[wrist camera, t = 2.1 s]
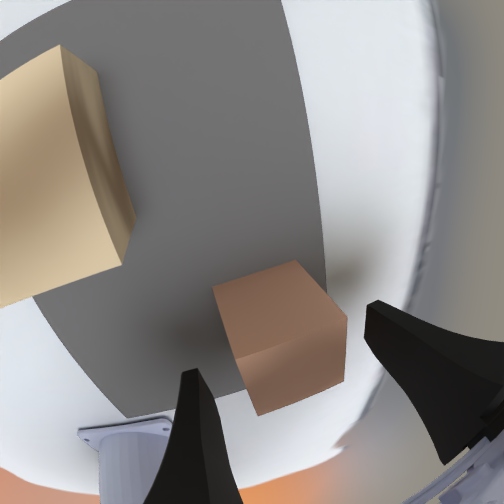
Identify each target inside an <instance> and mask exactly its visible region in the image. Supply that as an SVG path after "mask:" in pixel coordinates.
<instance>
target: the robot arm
mask: <svg viewBox="0 0 504 504" xmlns="http://www.w3.org/2000/svg"><path fill="white" fill-rule="evenodd" d="M364 339H365V341H366V343H367V344H368V346H369V347H370V349H371V351H372V352H373V354H374V355H375V357H376V358H377V359H378V360H379V362H380V363H381V364H382V365H383V366H384V368H385V369H386V370H387V371H388V372H389V374H390V375H391V376H392V377H393V378H394V379H395V381H396V382H397V383H398V384H399V386H401V388H402V389H403V390H404V392H405V393H406V394H407V396H408V397H409V399H410V400H411V402H412V404H413V405H414V407H415V408H416V410H417V412H418V414H419V416H420V417H421V419H422V421H423V423H424V424H425V427H426V428H427V431H428V433H429V435H430V437H431V439H432V441H433V443H434V446H435V448H436V451H437V453H438V456H439V459H440V460H441V462H442V463H443V464H444V465H446V464H447V463H449V462H450V461H451V460H452V459H453V458H455V457H456V456H457V455H458V454H459V453H460V452H461V451H463V450H464V449H465V448H466V447H467V446H468V448H469V449H470V451H469V452H468V453H467V454H465V455H464V456H463V457H462V458H461V459H460V460H459V461H457V462H456V463H455V464H454V465H453V466H452V467H450V468H449V469H448V470H447V471H446V472H444V473H443V474H442V475H440V476H439V477H438V478H436V479H435V480H434V481H432V482H431V483H430V484H428V485H427V486H426V487H424V488H423V489H421V490H420V491H419V492H417V493H416V494H414V495H413V496H411V497H410V498H408V499H406V500H405V501H403V502H402V503H400V504H425V503H426V502H427V501H429V500H430V499H432V498H433V497H434V496H436V495H437V494H438V493H440V492H441V491H442V490H444V489H445V488H446V487H447V486H449V485H450V484H451V483H452V482H454V481H455V480H456V479H457V478H458V477H459V476H461V475H462V474H463V473H464V472H465V471H466V470H467V474H466V475H465V476H464V477H462V478H461V479H459V480H458V481H457V482H455V483H454V484H453V485H451V486H450V487H449V488H448V489H447V490H446V491H445V492H443V493H442V494H441V495H440V496H439V500H440V501H441V502H440V503H438V504H504V342H496V341H488V340H483V339H478V338H473V337H468V336H464V335H461V334H458V333H454V332H451V331H448V330H445V329H442V328H440V327H437V326H435V325H432V324H430V323H427V322H425V321H423V320H421V319H418V318H416V317H414V316H412V315H410V314H408V313H405V312H403V311H401V310H399V309H397V308H395V307H393V306H391V305H389V304H387V303H384V302H382V301H380V300H377V301H374V302H372V303H370V304H368V305H367V309H366V321H365V332H364ZM77 436H78V437H79V438H80V439H82V440H83V441H84V442H85V443H87V444H88V445H89V446H91V447H92V448H93V449H95V450H96V451H98V452H99V491H100V504H243V501H242V499H241V496H240V494H239V491H238V488H237V486H236V483H235V480H234V477H233V474H232V471H231V468H230V464H229V460H228V455H227V450H226V445H225V440H224V435H223V430H222V425H221V420H220V416H219V413H218V409H217V406H216V403H215V400H214V396H213V394H212V393H211V391H210V389H209V387H208V386H207V384H206V382H205V380H204V378H203V377H202V375H201V373H200V371H199V369H198V368H195V369H191V370H187V371H184V372H182V374H181V380H180V388H179V394H178V400H177V406H176V410H175V415H174V420H173V425H172V424H171V422H170V421H169V420H167V419H163V418H161V419H155V420H150V421H145V422H139V423H133V424H127V425H121V426H113V427H106V428H97V429H88V430H79V431H77Z"/></svg>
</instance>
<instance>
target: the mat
mask: <svg viewBox="0 0 504 504" xmlns="http://www.w3.org/2000/svg"><path fill="white" fill-rule="evenodd" d="M58 45H61V46H63V47H64V48H66V49H67V50H68V51H70V52H71V53H72V54H74V55H75V56H77V57H78V58H79V59H81V60H82V61H83V62H85V63H86V64H87V65H89V66H90V67H91V68H93V69H94V70H95V71H97V74H98V80H99V85H100V89H101V94H102V99H103V103H104V108H105V112H106V116H107V120H108V124H109V128H110V132H111V136H112V140H113V144H114V147H115V151H116V154H117V158H118V161H119V165H120V168H121V171H122V175H123V178H124V181H125V184H126V187H127V191H128V194H129V197H130V200H131V203H132V206H133V209H134V212H135V214H136V217H137V218H136V221H135V224H134V227H133V230H132V233H131V236H130V240H129V243H128V246H127V249H126V253H125V256H124V260H123V263H122V265H120V266H117V267H114V268H111V269H108V270H105V271H102V272H99V273H96V274H93V275H91V276H88V277H85V278H82V279H79V280H76V281H73V282H71V283H68V284H65V285H62V286H59V287H57V288H54V289H51V290H48V291H45V292H43V293H40V294H37V295H34V296H32V297H33V299H34V300H35V302H36V304H37V305H38V307H39V309H40V310H41V312H42V314H43V315H44V317H45V318H46V320H47V321H48V323H49V324H50V326H51V327H52V329H53V330H54V332H55V333H56V335H57V336H58V338H59V339H60V341H61V342H62V343H63V345H64V346H65V347H66V349H67V350H68V351H69V353H70V354H71V355H72V357H73V358H74V359H75V361H76V362H77V363H78V364H79V366H80V367H81V368H82V369H83V371H84V372H85V373H86V374H87V376H88V377H89V378H90V379H91V380H92V381H93V383H94V384H95V385H96V386H97V387H98V388H99V389H100V391H101V392H102V393H103V394H104V395H105V396H106V397H107V398H108V399H109V400H110V402H111V403H112V404H113V405H114V406H115V407H116V408H117V409H118V410H119V411H120V412H121V413H122V414H123V415H124V416H125V417H126V418H132V417H138V416H143V415H148V414H153V413H158V412H163V411H167V410H172V409H176V406H177V400H178V394H179V388H180V380H181V374H182V372H184V371H187V370H191V369H195V368H198V369H199V371H200V373H201V375H202V377H203V378H204V380H205V382H206V384H207V386H208V387H209V389H210V391H211V393H212V394H213V396H214V399H215V398H218V397H222V396H225V395H228V394H231V393H235V392H238V391H241V390H244V389H246V386H245V384H244V381H243V379H242V376H241V374H240V371H239V369H238V366H237V363H236V361H235V358H234V355H233V352H232V349H231V346H230V343H229V340H228V337H227V334H226V331H225V328H224V325H223V321H222V318H221V315H220V312H219V309H218V305H217V302H216V299H215V296H214V292H213V289H212V287H213V286H216V285H220V284H223V283H226V282H229V281H232V280H235V279H238V278H241V277H244V276H248V275H251V274H254V273H257V272H260V271H263V270H266V269H269V268H272V267H275V266H278V265H281V264H284V263H287V262H290V261H293V260H296V261H297V262H298V263H299V264H300V265H301V266H302V267H303V268H304V269H305V270H306V272H307V273H308V274H309V275H310V276H311V277H312V278H313V279H314V280H315V281H316V283H317V284H318V285H319V286H320V287H321V288H322V289H323V290H324V291H325V292H326V294H327V289H326V273H325V259H324V246H323V234H322V224H321V214H320V205H319V196H318V188H317V180H316V172H315V165H314V157H313V151H312V144H311V138H310V131H309V125H308V119H307V114H306V108H305V103H304V97H303V92H302V87H301V82H300V77H299V72H298V68H297V63H296V58H295V54H294V50H293V45H292V41H291V37H290V33H289V29H288V25H287V21H286V17H285V13H284V10H283V6H282V3H281V0H71V1H69V2H67V3H65V4H63V5H60V6H58V7H56V8H54V9H52V10H51V11H49V12H47V13H45V14H43V15H41V16H39V17H38V18H36V19H34V20H32V21H31V22H29V23H27V24H26V25H24V26H22V27H21V28H19V29H17V30H16V31H14V32H13V33H11V34H10V35H8V36H7V37H5V38H4V39H2V40H1V41H0V80H1V79H2V78H4V77H5V76H7V75H8V74H10V73H11V72H13V71H14V70H16V69H17V68H19V67H20V66H22V65H24V64H25V63H27V62H29V61H30V60H32V59H34V58H35V57H37V56H39V55H41V54H43V53H44V52H46V51H48V50H50V49H52V48H54V47H56V46H58Z"/></svg>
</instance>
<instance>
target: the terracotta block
mask: <svg viewBox="0 0 504 504" xmlns="http://www.w3.org/2000/svg"><path fill="white" fill-rule="evenodd" d="M212 289H213V292H214V296H215V299H216V302H217V305H218V309H219V312H220V315H221V318H222V321H223V325H224V328H225V331H226V334H227V337H228V340H229V343H230V346H231V349H232V352H233V355H234V358H235V361H236V363H237V366H238V369H239V371H240V374H241V376H242V379H243V381H244V384H245V386H246V389H247V391H248V394H249V396H250V399H251V401H252V404H253V406H254V408H255V411H256V413H257V415H258V416H260V415H263V414H266V413H269V412H271V411H274V410H277V409H280V408H282V407H285V406H288V405H290V404H293V403H295V402H298V401H300V400H303V399H305V398H308V397H310V396H312V395H315V394H317V393H319V392H322V391H324V390H326V389H328V388H331V387H333V386H335V385H337V384H339V383H341V382H343V381H344V372H345V358H346V339H347V316H346V315H345V314H344V313H343V311H342V310H341V309H340V308H339V307H338V306H337V305H336V304H335V302H334V301H333V300H332V299H331V298H330V297H329V296H328V295H327V294H326V292H325V291H324V290H323V289H322V288H321V287H320V286H319V285H318V284H317V283H316V281H315V280H314V279H313V278H312V277H311V276H310V275H309V274H308V273H307V272H306V270H305V269H304V268H303V267H302V266H301V265H300V264H299V263H298V262H297V261H296V260H293V261H290V262H287V263H284V264H281V265H278V266H275V267H272V268H269V269H266V270H263V271H260V272H257V273H254V274H251V275H248V276H244V277H241V278H238V279H235V280H232V281H229V282H226V283H223V284H220V285H216V286H213V287H212Z"/></svg>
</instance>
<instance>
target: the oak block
mask: <svg viewBox="0 0 504 504" xmlns="http://www.w3.org/2000/svg"><path fill="white" fill-rule="evenodd" d="M136 218H137V217H136V214H135V212H134V209H133V206H132V203H131V200H130V197H129V194H128V191H127V187H126V184H125V181H124V178H123V175H122V171H121V168H120V165H119V161H118V158H117V154H116V151H115V147H114V144H113V140H112V136H111V132H110V128H109V124H108V120H107V116H106V112H105V108H104V103H103V99H102V94H101V89H100V85H99V80H98V74H97V71H95V70H94V69H93V68H91V67H90V66H89V65H87V64H86V63H85V62H83V61H82V60H81V59H79V58H78V57H77V56H75V55H74V54H72V53H71V52H70V51H68V50H67V49H66V48H64V47H63V46H61V45H58V46H56V47H54V48H52V49H50V50H48V51H46V52H44V53H43V54H41V55H39V56H37V57H35V58H34V59H32V60H30V61H29V62H27V63H25V64H24V65H22V66H20V67H19V68H17V69H16V70H14V71H13V72H11V73H10V74H8V75H7V76H5V77H4V78H2V79H1V80H0V308H3V307H5V306H8V305H10V304H13V303H16V302H18V301H21V300H24V299H26V298H29V297H32V296H34V295H37V294H40V293H43V292H45V291H48V290H51V289H54V288H57V287H59V286H62V285H65V284H68V283H71V282H73V281H76V280H79V279H82V278H85V277H88V276H91V275H93V274H96V273H99V272H102V271H105V270H108V269H111V268H114V267H117V266H120V265H122V263H123V260H124V256H125V253H126V249H127V246H128V243H129V240H130V236H131V233H132V230H133V227H134V224H135V221H136Z"/></svg>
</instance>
